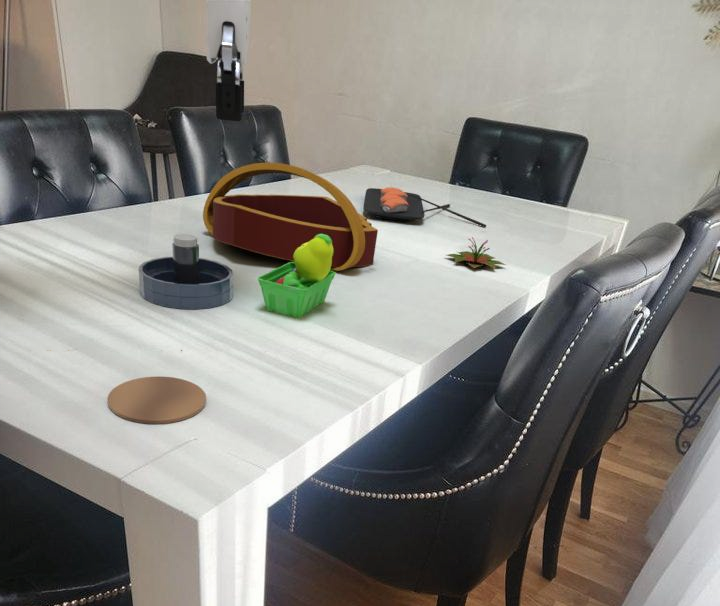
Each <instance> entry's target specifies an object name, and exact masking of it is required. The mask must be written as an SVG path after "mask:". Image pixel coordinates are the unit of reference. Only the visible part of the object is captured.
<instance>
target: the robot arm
mask: <svg viewBox="0 0 720 606" xmlns="http://www.w3.org/2000/svg"><path fill="white" fill-rule="evenodd" d="M251 12H252V0H206V61H207V62H208V63H209V64H212V65H213V64H214V63H216V62H217V66H216V68H217V69H216V70H217V71H216V82H215V117H216V119H217V120H222V121H229V122H241V120H242V114H243V113H244V112H245V80H244V70H243V69H244V66H246V65H247V63H248V56H249V48H250V39H251V38H250V36H251V35H250V34H251V21H252V20H251V19H252V13H251Z"/></svg>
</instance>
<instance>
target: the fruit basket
mask: <svg viewBox="0 0 720 606" xmlns="http://www.w3.org/2000/svg"><path fill="white" fill-rule="evenodd" d="M332 256H333V246H332V240H331V238H330V237H329V236H328V235H324V234H318V235H316V236H315V237H314V239H312V240H310V241H309V242H307V243H304V244H302V245H301V246H300V247H298V248H297V249H296V250H295V252H294V255H293V258H294V261H290V262H287V263H284V264H283V265H281V266H279V267H277V268H275V269H272V270H271V271H269V272H267V273H265V274H262V275H260V276H258V277H257V281H258V284H259V286H260V289H261V292H262V297H263V301H264V304H265V305H264V306H265V309H266V311H268V312H274V313H277V314H280V315H284V316H289V317H293V318H296V319H300V318H302V317H303V316H304V315H305V314H308V313H309V312H311V311H312V310H313V309H315V308H317V307H318V306H319V305H321V304H323V303H325V301H326V298H327V295H328V292H329V290H330V287H331V284H332V281H333V280H334V278H335V276H336V272H337V271H335V270H330V269H331V264H332Z"/></svg>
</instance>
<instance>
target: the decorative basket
mask: <svg viewBox="0 0 720 606" xmlns="http://www.w3.org/2000/svg"><path fill="white" fill-rule="evenodd" d="M267 174H282V175H291V176H297V177H301V178H303V179H307V180H308V181H311V182H313V183H315V184H317V185H318V186H319V187H321V188H323V189H324V190H325V191H326V192H328V193H329V194H330V195H331V196H332V198H334V199H332V198H330V197H328V196H322V195H321V196H320V195H297V194H292V195H291V194H257V193H256V194H255V193H254V194H244V193H243V194H242V193H241V194H240V193H239V194H230V195H229V194H228V193H229V192H230V191H231V190H232V189H234V188H235V187H236V186H237V185H239V184H241V183H242V182H244V181H245V180H247V179H250V178H252V177H255V176H260V175H267ZM227 194H228V195H227ZM202 220H203V223H204V226H205V228H206V230H207V231H208V232H209V233H210V234H211V235H212V238H213V239H214V240H215V241H217V242H220V243H223V244H226V245H230V246H234V247H237V248H240V249H243V250H245V251H246V250H247V251H250V252H253V253H257V254H261V255H264V256H268V257H273V258H276V259H282V260H287V261H290V262H294V258H293V255H294V252H295V250H296V249H297V248H298V247H300V246H301V245H302V244H304V243H307V242H309V241H310V240H312V239H314V237H315V236H316V235H318V234H324V235H328V236H329V237H330V238H331V240H332V246H333V256H332V264H331V269H330V271H335V272H337V271H339V272H340V271H344V270H347V269H349V268H355V267H357V268H358V267H365V266H371V265H373V264H374V259H375V252H376V247H377V238H378V232H379V229H377V228H376V227H374V226H372V222H370V221H368V218H367V217H366V216H364V215H362V214H361V213H358V211H357V209H356V207H355V206H354V204H353V203H352V201H351V200H350V199H349V198H348V196H347V195H346V194H345V193H344V192H342V190H340V188H338V187H337V186H336V185H334V184H333V183H331V182H330V180H327V179H326V178H323V177H322V176H320V175H317V174H315V173H314V172H311V171H309V170H307V169H304V168H301V167H299V166H295V165H292V164H286V163H279V162H257V163H250V164H246V165H242V166H240V167H237V168H235V169H233V170H231V171H229V172H228V173H226V174H225V175H223V176H222V177H221V178H220V179H219V180H218V181H217V182H216V183H215V184H214V186H213V188H212V189H211V191H209V194H208V195H207V197H206V200H205V203H204V206H203V212H202Z"/></svg>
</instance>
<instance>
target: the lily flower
mask: <svg viewBox="0 0 720 606" xmlns="http://www.w3.org/2000/svg"><path fill="white" fill-rule="evenodd" d="M467 240H469V242H471V243H472V244H471V246H470V245H468V248H469V249H470V250H471V251H472V252H471V251H469V250H465V251H457V253H449V254H446V256H447V257H452V258H454V261H453V263H458V262H465V264H468V265H469V266H470V267H471V268H473V269H475V268H479V267H482V266H484V265H487V266H489V267H490V268H492V269H494V270H496V265H503V266H507V264H506V263H504V262H502V261H501V260H500V261H499V260H495V259H496V257H495V256H492V255H490V254H487V253H485V252H486V251H488V250H490V248H491V247H488V248H486V246H484V245H485V244H487V243H488V242H489V240H488V239H486V240H485V241H484V242H483V243H482V244H481V245H480V247H479V248H478V247H477V243H476V241H475V239H474V237H473V236H472V237H471V238H469V237H468V238H467ZM472 240H473V241H472Z"/></svg>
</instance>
